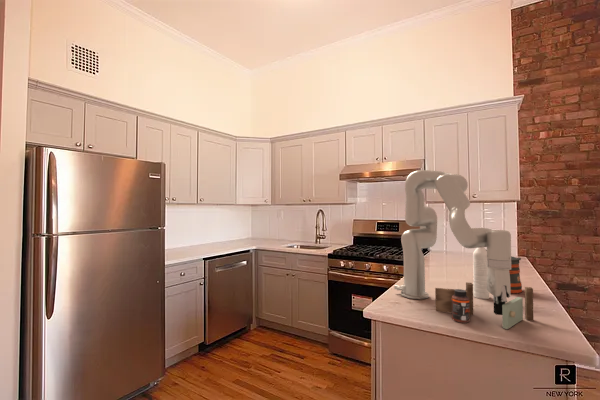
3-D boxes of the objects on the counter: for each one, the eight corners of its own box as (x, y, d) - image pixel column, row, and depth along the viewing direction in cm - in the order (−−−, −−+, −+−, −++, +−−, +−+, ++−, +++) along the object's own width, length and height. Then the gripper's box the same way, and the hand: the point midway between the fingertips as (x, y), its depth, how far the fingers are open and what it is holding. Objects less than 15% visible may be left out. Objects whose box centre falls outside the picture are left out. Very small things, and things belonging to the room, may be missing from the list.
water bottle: (486, 300, 141) (485, 244, 142) (471, 296, 146) (470, 243, 147) (493, 296, 147) (492, 243, 147) (478, 293, 152) (477, 241, 152)
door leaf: (511, 330, 107) (511, 307, 107) (502, 327, 110) (502, 305, 110) (526, 320, 117) (526, 298, 117) (518, 318, 119) (517, 296, 119)
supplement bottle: (469, 324, 113) (468, 293, 114) (451, 321, 117) (450, 291, 117) (470, 319, 118) (469, 289, 119) (452, 316, 122) (452, 287, 122)
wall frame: (436, 311, 127) (435, 282, 127) (435, 309, 130) (435, 280, 130) (534, 321, 116) (533, 288, 116) (531, 318, 119) (530, 286, 119)
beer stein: (477, 289, 158) (476, 250, 158) (479, 283, 170) (478, 246, 171) (523, 295, 148) (522, 253, 148) (521, 288, 160) (521, 249, 160)
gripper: (481, 259, 122) (481, 306, 122) (494, 267, 108) (495, 320, 108) (502, 260, 120) (503, 308, 120) (519, 268, 106) (520, 322, 106)
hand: (499, 314), depth 114 cm, fingers closed
